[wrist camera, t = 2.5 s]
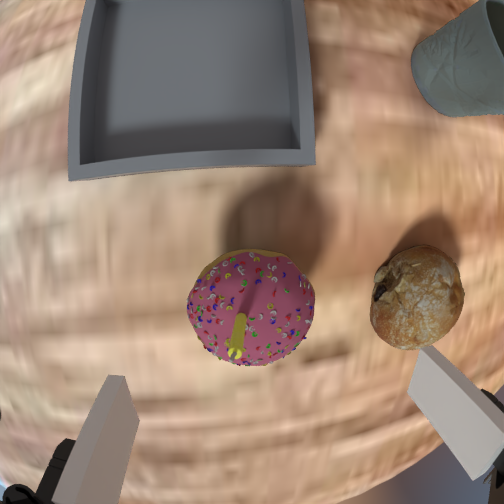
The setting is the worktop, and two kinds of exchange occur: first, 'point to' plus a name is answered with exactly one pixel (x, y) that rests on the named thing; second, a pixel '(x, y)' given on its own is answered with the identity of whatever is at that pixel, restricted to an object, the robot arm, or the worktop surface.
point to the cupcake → (251, 307)
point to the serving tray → (190, 87)
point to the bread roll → (416, 298)
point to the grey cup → (464, 63)
